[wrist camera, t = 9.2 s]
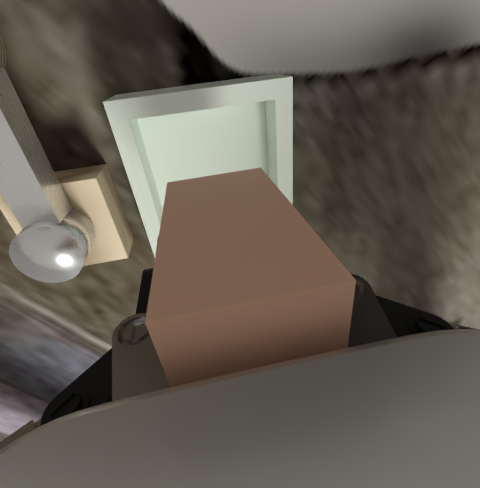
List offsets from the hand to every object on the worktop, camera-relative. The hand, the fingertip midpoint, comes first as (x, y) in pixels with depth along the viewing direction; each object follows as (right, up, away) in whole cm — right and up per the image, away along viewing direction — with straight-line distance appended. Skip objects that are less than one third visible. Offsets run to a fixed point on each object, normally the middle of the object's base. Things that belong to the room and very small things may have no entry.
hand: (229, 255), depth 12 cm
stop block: (0, +1, +1) cm, 2 cm away
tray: (-2, +6, +9) cm, 10 cm away
